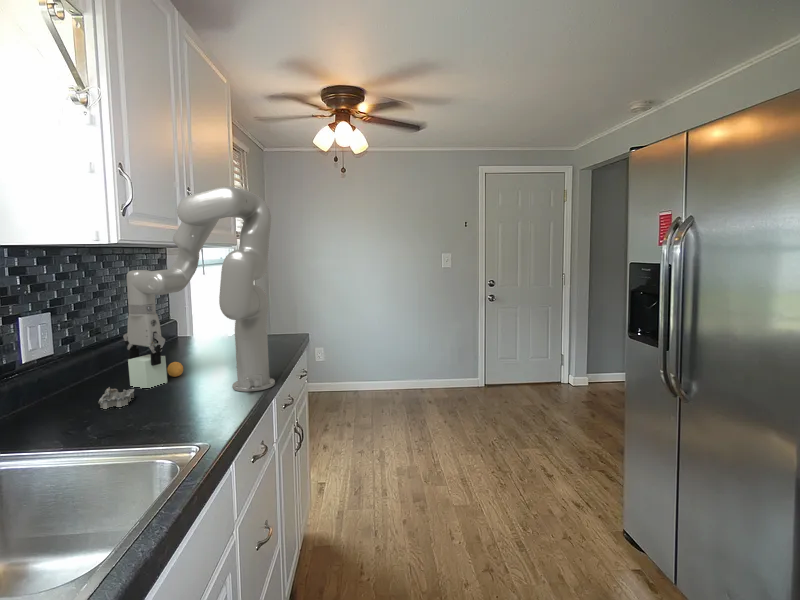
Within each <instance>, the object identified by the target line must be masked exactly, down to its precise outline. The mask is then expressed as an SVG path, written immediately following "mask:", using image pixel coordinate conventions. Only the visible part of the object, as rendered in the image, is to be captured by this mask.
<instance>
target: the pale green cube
mask: <svg viewBox="0 0 800 600" xmlns="http://www.w3.org/2000/svg"><path fill="white" fill-rule="evenodd" d="M127 362H128V363H127V364H128V376H129V385H130V386H133V387H132V388H134V387H140V388H139V389H142V388H150V389H152V388H151V387H153V388H155V387H154V386H156V387H158V386H157V385H159V386H161V385H160V384H162V385H164V384H163V383H165V384H168V372H167V362H166V355H161V364H158V365H154V366H152V365H151V354H146V355H145V354H144V355H142V356H139V357H137V358H132V359H129V358H128V359H127ZM130 386H129V387H130Z"/></svg>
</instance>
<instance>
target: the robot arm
mask: <svg viewBox="0 0 800 600" xmlns="http://www.w3.org/2000/svg"><path fill="white" fill-rule="evenodd" d="M176 214H177V217H178V218H179V220H180V221H181V223H180V224H179V226H178V227H177V229H176V231H175V233H174V234H173V235H172V242H173V243H174V245H175V246H177V248H178V252H177V253H178V254H177V257H176V258H175V261H174V262H173V264H172V266H171V267H170V268H169V269H160V270H147V269H137V270H135V269H133V270H129V271H128V272H127V274H126V288H127V303H128V316H127V332H126V333H124V334H123V336H122V337H123V341H124V344H125V345H126V349H127V351H128V359H132V358H137V357H140V349H139V347H147V348H149V349H150V351H151V353H150V355H151V365H152V366H154V365H158V364H161V356H162V355H161V352H162V351H163V348H164V346H165V344H166V343H165V342H166V338H164V337H163V336H162V330H161V323H160V319H159V315H158V313H156V312H157V311H156V310H157V308H156V296H162V295H168V294H173V293H178V292H181V291H183V290H184V289H185V288H186V287H187V286H188V284H189V283H190V281H191V280H192V278H193V276H194V275H195V273H196V271H197V268H198V266H199V261H200V252H201V249H202V248H203V247H204V245H205V243H206V241H207V240H208V238H209V237H210V234H211V233H212V232H213V230H214V228H215V227H216V225H217V223H218V222H219V220H220V219H224V218H236V219H237V218H238V219H241V220H242V221H243V223H242V224H243V225H242V226H241V229H240V232H239V244H238V245H239V246H238V249H234V250H232V251H230V252H229V253H228V254H227V255H226V256H225V258H224V259H223V261H222V266H221V270H220V271H221V273H220V285H219V296H218V298H219V299H218V301H219V303H218V305H219V309H220V311H221V313H222V314H223V316H224V317H226V318H227V319H229V320H233V321H234V342H235V344H234V345H235V357H236V375H237V381H235V382H233V383H232V389H233V390H235V391H237V392H259V391H263V390H268V389H270V388H272V387H274V386H275V385H276V380H275V379H274V378H272V377H270V363H269V362H270V361H269V360H270V359H269V347H268V346H269V343H268V342H269V341H268V310H269V309H268V308H269V298H268V295H267V293H266V291H265V290H264V289H263V288H262V287H261V286H259V285H256V284H254V281H258V280H260V279H262V278H263V277H264V276H266V273H267V270H268V263H269V262H268V259H269V251H270V250H269V249H270V236H271V228H272V226H271V225H272V214H271V211H270V208H269V206H268V204H267V203H266V201H265V200H264V199H263V198H262V197H261V196H259V195H258V194H256V193H254V192H252V191H251V190H250V191H249V190H247V189H244V188H239V187H234V186H220V187H219V186H218V187H216V188H212V189H209V190H205V191H200V192H196V193H194V194H190V195H187V196H184V197H183V198H182V199H181V200H180V201H179V202H178V205H177V208H176Z"/></svg>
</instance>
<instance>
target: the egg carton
mask: <svg viewBox="0 0 800 600" xmlns="http://www.w3.org/2000/svg"><path fill="white" fill-rule="evenodd" d="M134 392H135V388H131V389H130V388H128V389H127V390H126V389H123V391H122V392H119V389H117V388H111V387H110V386H109V387H108V388H106V389H105V391H104V394H102V395H101V397H100V398H99V400H98V401H97V402H98V403H97V404H99V405H100V406H99V408H103V409H107V408H109V407H113V406H116V407H122V406H125V405H128V406H129V403H128V402H130V401H131V402H132V399H131V398H134V399H135V395H134V394H135V393H134ZM103 409H102V410H103Z"/></svg>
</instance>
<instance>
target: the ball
mask: <svg viewBox="0 0 800 600" xmlns="http://www.w3.org/2000/svg"><path fill="white" fill-rule="evenodd" d="M166 371H167V375H168V376H170V377H175V378H177V377H179V376H181V375H182V374H183V372H184V366H183V364H182V363H181V362H179V361H173V362H171V363H169V364H168V365H167V367H166Z"/></svg>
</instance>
